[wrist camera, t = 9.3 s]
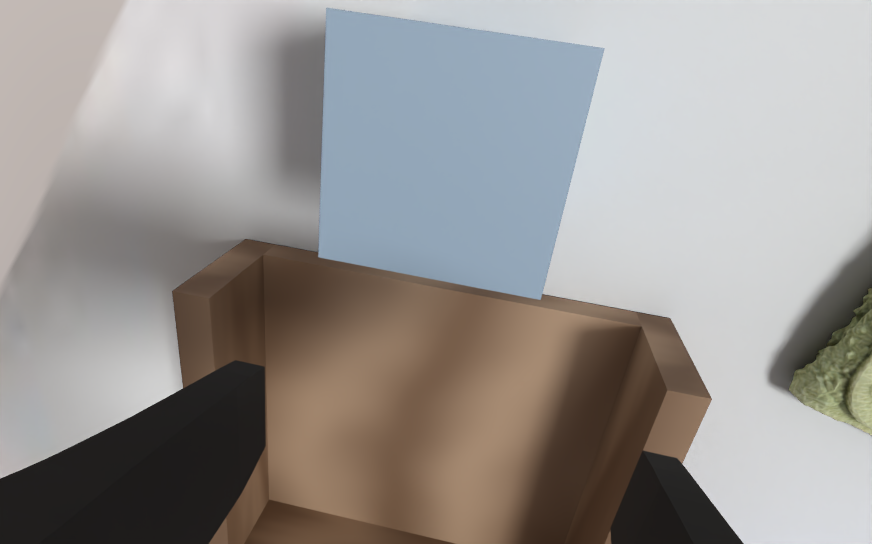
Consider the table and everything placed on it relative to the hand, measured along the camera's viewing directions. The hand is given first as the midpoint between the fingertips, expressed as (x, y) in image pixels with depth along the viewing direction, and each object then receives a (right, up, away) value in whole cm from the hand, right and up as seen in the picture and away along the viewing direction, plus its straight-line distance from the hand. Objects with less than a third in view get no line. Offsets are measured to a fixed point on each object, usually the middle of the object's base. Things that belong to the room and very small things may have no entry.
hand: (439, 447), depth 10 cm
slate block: (+1, +8, +7) cm, 11 cm away
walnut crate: (0, -3, +12) cm, 13 cm away
